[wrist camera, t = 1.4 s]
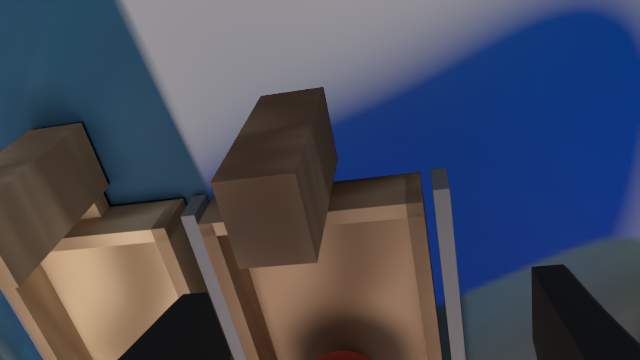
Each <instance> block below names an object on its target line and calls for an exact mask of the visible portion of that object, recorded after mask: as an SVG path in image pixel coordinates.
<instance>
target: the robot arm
mask: <svg viewBox="0 0 640 360" xmlns="http://www.w3.org/2000/svg"><path fill="white" fill-rule="evenodd" d="M532 328H533V342H534V347H535V351H536V355H537V360H640V344H639V343H638V342H637V341H636V340H635V339H634V338H633V337H632V336H631V335H630V334H629V333H628V332H627V331H626V330H625V329H624V328H623V327H622V326H621V325H620V324H619V323H618V322H617V321H616V320H615V319H614V318H613V317H612V316H611V315H610V314H609V313H608V312H607V311H606V310H605V309H604V308H603V307H602V306H601V305H600V304H599V303H598V301H597V300H596V299H595V298H594V297H593V296H592V295H591V294H590V293H589V292H588V291H587V290H586V288H585V287H584V286H583V285H582V284H581V283H580V282H579V281H578V279H577V278H576V277H575V276H574V275H573V274H572V272H571V271H570V270H569V269H568V268H567V267H565V266H564V265H550V266H537V267H532ZM230 359H231V353H230V350H229V348H228V345H227V342H226V340H225V337H224V335H223V332H222V329H221V327H220V324H219V322H218V319H217V316H216V314H215V311H214V309H213V306H212V303H211V301H210V298H209V296H208V293H207V292H202V293H190V294H183V295H182V296H180V297H179V298H178V299H177V300H176V301H175V302H174V303H173V304H172V305H171V306H170V307H169V308H168V309H167V310H166V311H165V312H164V313H163V314H162V315H161V316H160V317H159V318H158V319H157V320H156V321H155V322H154V323H153V324H152V325H151V326H150V327H149V328H148V329H147V330H146V331H145V332H144V333H143V334H142V335H141V336H140V338H139V339H138V340H137V341H136V342H135V343H134V344H133V345H132V346H131V347H130V348H129V349H128V350H127V351H126V352H125V353H124V354H123V355H122V356H121V357H120V358H119V359H118V360H230Z"/></svg>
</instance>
